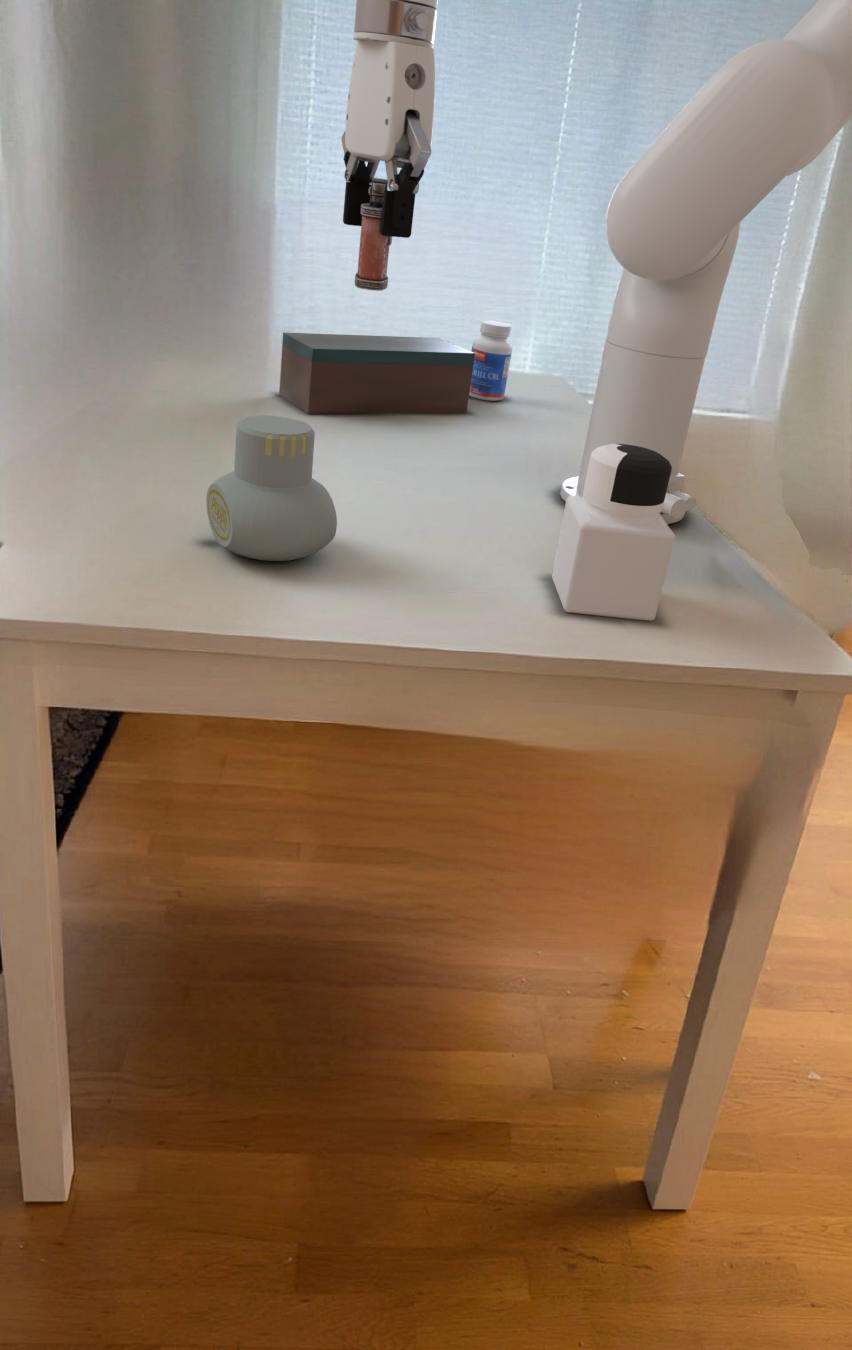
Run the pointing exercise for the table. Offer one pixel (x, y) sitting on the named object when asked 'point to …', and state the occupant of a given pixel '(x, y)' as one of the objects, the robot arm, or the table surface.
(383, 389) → the brown rectangular block
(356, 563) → the table surface
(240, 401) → the table surface
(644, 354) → the robot arm
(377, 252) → the red smoke grenade
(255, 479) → the air freshener
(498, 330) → the pill bottle
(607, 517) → the medicine bottle
